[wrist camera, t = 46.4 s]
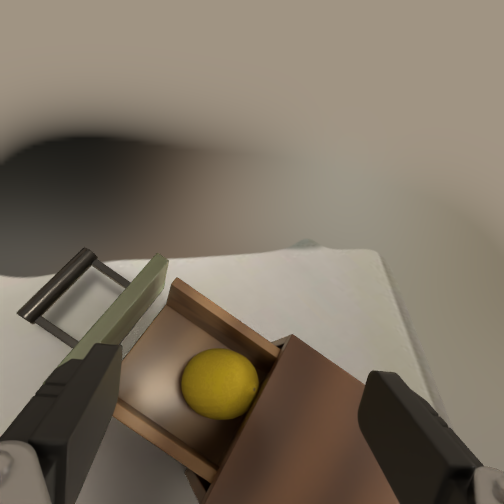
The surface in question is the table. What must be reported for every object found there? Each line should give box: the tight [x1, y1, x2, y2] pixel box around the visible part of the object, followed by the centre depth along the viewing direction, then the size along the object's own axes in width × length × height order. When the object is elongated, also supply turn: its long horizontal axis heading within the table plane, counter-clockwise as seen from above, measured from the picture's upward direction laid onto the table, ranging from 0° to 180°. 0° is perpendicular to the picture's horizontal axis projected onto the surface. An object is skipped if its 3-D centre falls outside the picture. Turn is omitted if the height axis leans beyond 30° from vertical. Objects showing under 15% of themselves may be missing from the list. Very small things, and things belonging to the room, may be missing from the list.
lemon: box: [181, 348, 259, 420], centre depth 27 cm, size 6×6×8 cm
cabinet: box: [185, 334, 400, 504], centre depth 28 cm, size 17×13×10 cm
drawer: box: [17, 248, 281, 483], centre depth 28 cm, size 21×12×8 cm, turn 59°
